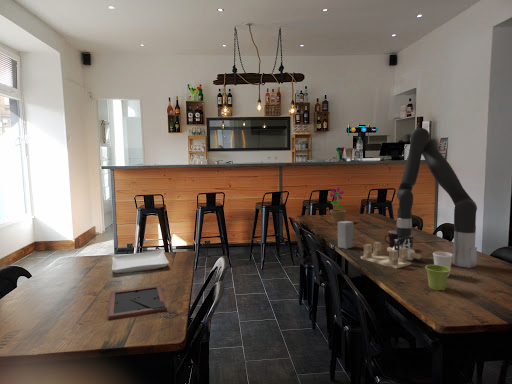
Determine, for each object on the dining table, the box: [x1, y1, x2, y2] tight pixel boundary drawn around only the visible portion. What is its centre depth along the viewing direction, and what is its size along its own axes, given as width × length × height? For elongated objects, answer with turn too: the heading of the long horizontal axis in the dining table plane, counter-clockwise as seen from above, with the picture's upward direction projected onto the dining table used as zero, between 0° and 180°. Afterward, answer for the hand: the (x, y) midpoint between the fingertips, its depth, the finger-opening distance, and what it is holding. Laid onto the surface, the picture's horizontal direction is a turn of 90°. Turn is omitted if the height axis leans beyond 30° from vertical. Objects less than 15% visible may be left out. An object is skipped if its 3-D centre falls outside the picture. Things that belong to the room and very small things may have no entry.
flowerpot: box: [329, 186, 348, 225], centre depth 301 cm, size 14×14×30 cm
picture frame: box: [107, 284, 168, 320], centre depth 140 cm, size 20×2×25 cm
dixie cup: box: [432, 251, 453, 277], centre depth 165 cm, size 8×8×10 cm
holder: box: [360, 241, 412, 269], centre depth 188 cm, size 22×12×8 cm, turn 33°
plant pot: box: [425, 264, 452, 291], centre depth 149 cm, size 9×9×9 cm
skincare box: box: [337, 220, 355, 250], centre depth 219 cm, size 8×7×16 cm
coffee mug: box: [384, 230, 398, 248], centre depth 213 cm, size 12×9×10 cm
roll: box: [386, 246, 422, 261], centre depth 193 cm, size 19×6×6 cm, turn 33°
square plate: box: [111, 250, 170, 274], centre depth 188 cm, size 27×27×4 cm
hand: (403, 256), depth 193 cm, fingers closed on roll, 6 cm apart
